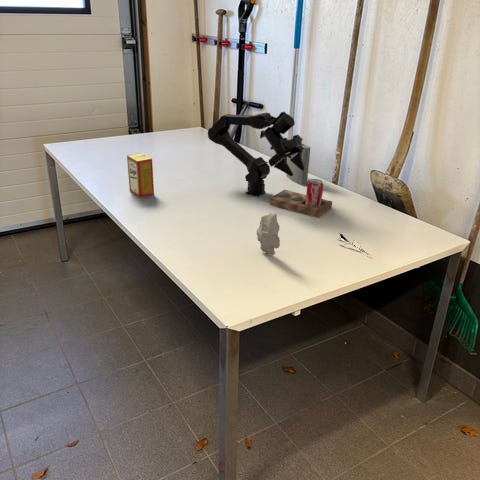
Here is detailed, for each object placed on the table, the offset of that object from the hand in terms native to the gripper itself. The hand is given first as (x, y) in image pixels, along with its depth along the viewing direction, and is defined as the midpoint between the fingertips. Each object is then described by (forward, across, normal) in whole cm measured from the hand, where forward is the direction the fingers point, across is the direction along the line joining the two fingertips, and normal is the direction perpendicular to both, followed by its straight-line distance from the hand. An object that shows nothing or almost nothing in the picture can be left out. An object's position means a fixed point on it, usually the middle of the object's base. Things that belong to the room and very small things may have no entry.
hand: (298, 172), depth 191 cm
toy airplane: (+34, -20, -13) cm, 41 cm away
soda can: (+15, +1, +4) cm, 16 cm away
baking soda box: (-31, -30, +51) cm, 67 cm away
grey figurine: (+20, -43, 0) cm, 48 cm away
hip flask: (-1, +27, +20) cm, 33 cm away
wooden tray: (+12, 0, +8) cm, 14 cm away
